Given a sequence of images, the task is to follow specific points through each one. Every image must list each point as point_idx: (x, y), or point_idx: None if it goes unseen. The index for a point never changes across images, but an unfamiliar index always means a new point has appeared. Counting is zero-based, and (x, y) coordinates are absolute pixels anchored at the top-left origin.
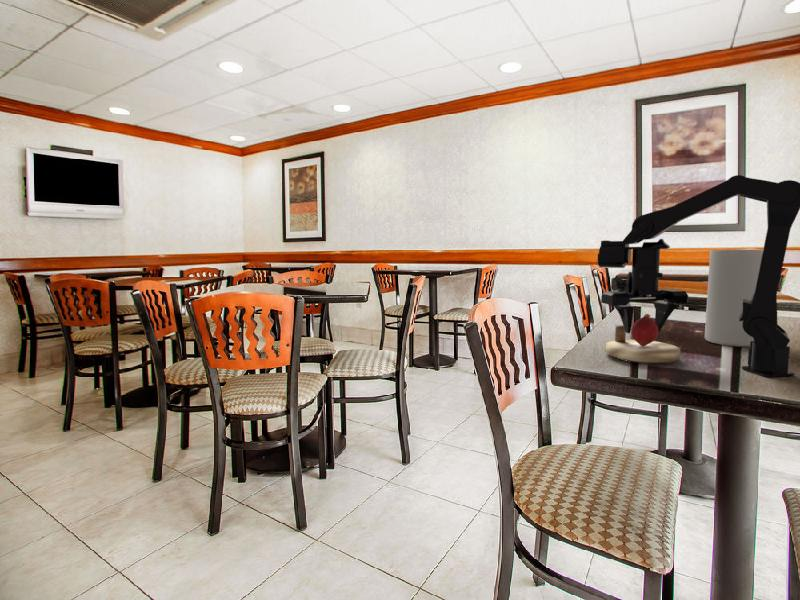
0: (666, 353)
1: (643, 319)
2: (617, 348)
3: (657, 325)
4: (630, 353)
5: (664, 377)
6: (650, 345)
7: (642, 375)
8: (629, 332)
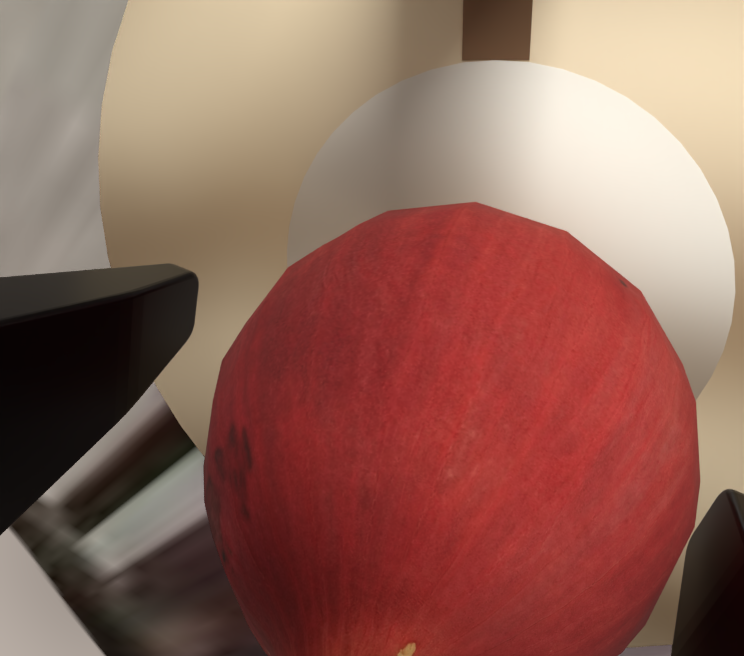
0: None
1: (256, 630)
2: (155, 211)
3: (708, 631)
4: (169, 395)
5: (219, 620)
6: None
7: (132, 534)
8: (171, 343)
